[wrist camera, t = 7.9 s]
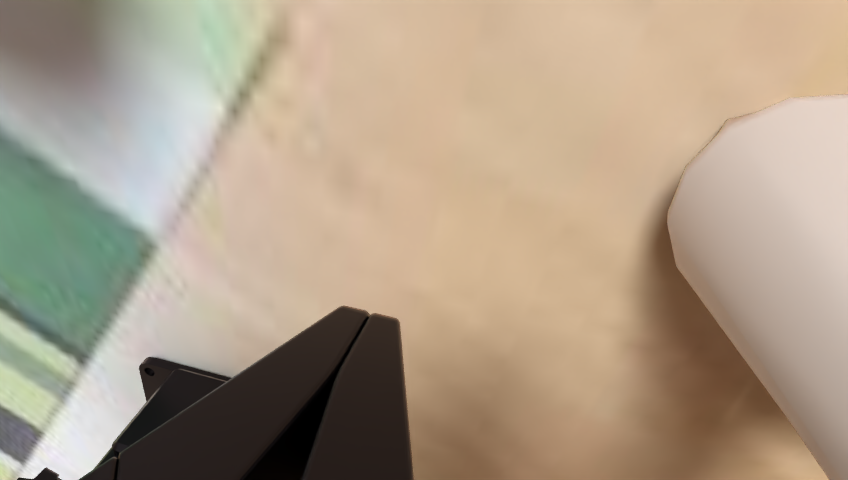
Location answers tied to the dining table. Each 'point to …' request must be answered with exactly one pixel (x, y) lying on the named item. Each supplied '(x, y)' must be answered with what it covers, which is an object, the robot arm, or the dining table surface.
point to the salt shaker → (777, 257)
